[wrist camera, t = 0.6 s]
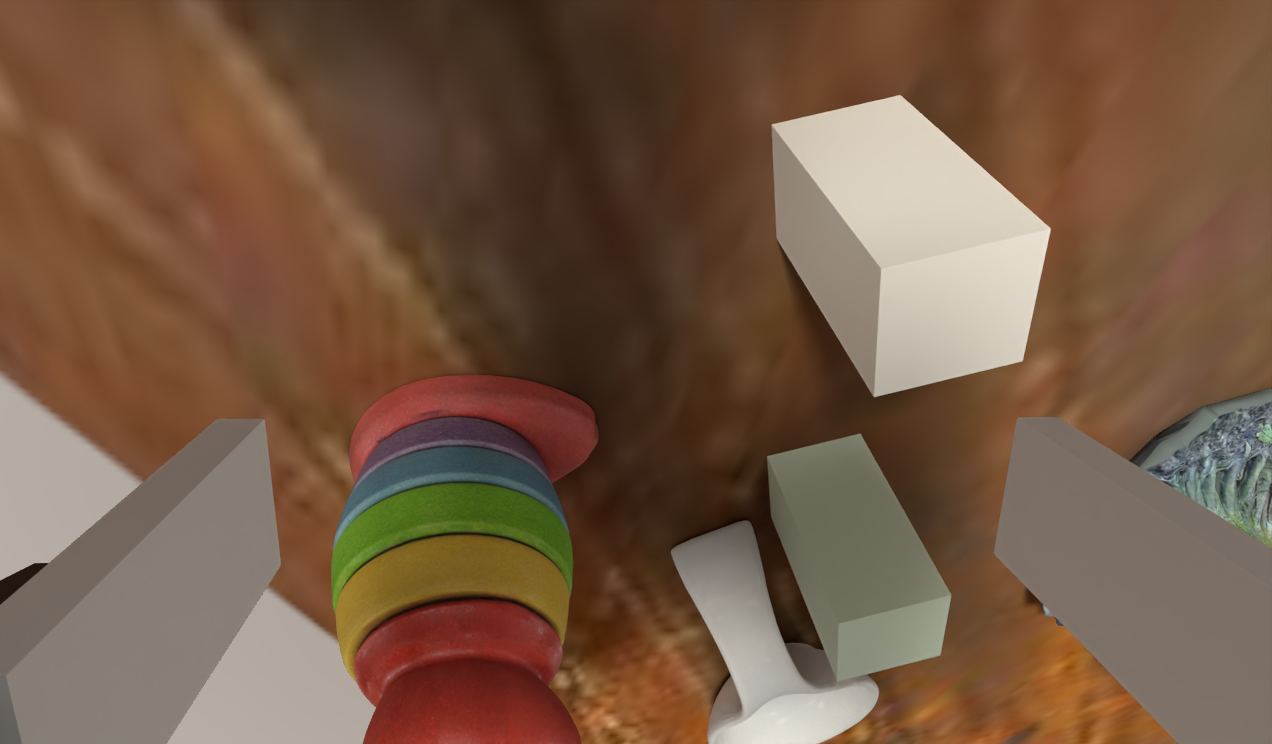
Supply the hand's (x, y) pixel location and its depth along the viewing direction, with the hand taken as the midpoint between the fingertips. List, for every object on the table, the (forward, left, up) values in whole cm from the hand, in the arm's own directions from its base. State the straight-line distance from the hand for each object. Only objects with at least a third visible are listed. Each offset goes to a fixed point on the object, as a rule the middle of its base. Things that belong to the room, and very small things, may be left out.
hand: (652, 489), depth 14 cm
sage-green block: (+23, +9, -18) cm, 31 cm away
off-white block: (+5, +10, -18) cm, 22 cm away
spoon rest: (+37, +5, -19) cm, 42 cm away
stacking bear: (+15, -8, -19) cm, 25 cm away
